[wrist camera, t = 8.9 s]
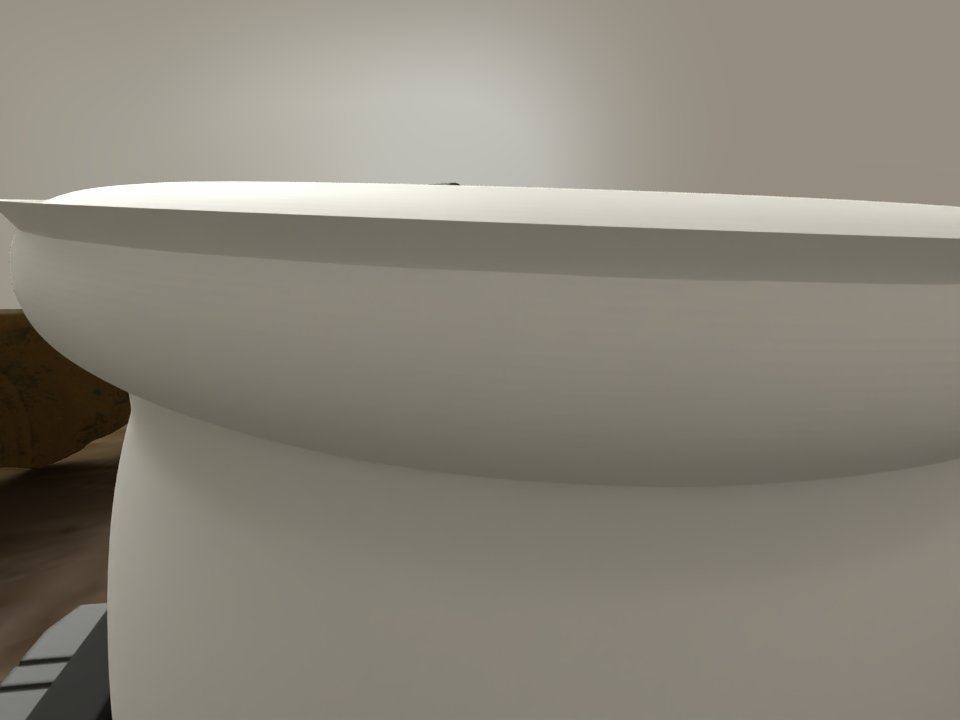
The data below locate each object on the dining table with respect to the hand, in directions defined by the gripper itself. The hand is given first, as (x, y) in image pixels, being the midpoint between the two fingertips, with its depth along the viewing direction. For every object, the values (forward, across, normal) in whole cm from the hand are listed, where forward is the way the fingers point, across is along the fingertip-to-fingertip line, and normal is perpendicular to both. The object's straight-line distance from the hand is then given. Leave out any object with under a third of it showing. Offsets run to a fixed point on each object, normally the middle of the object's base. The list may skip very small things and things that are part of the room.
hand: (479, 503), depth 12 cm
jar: (-4, 0, -8) cm, 9 cm away
